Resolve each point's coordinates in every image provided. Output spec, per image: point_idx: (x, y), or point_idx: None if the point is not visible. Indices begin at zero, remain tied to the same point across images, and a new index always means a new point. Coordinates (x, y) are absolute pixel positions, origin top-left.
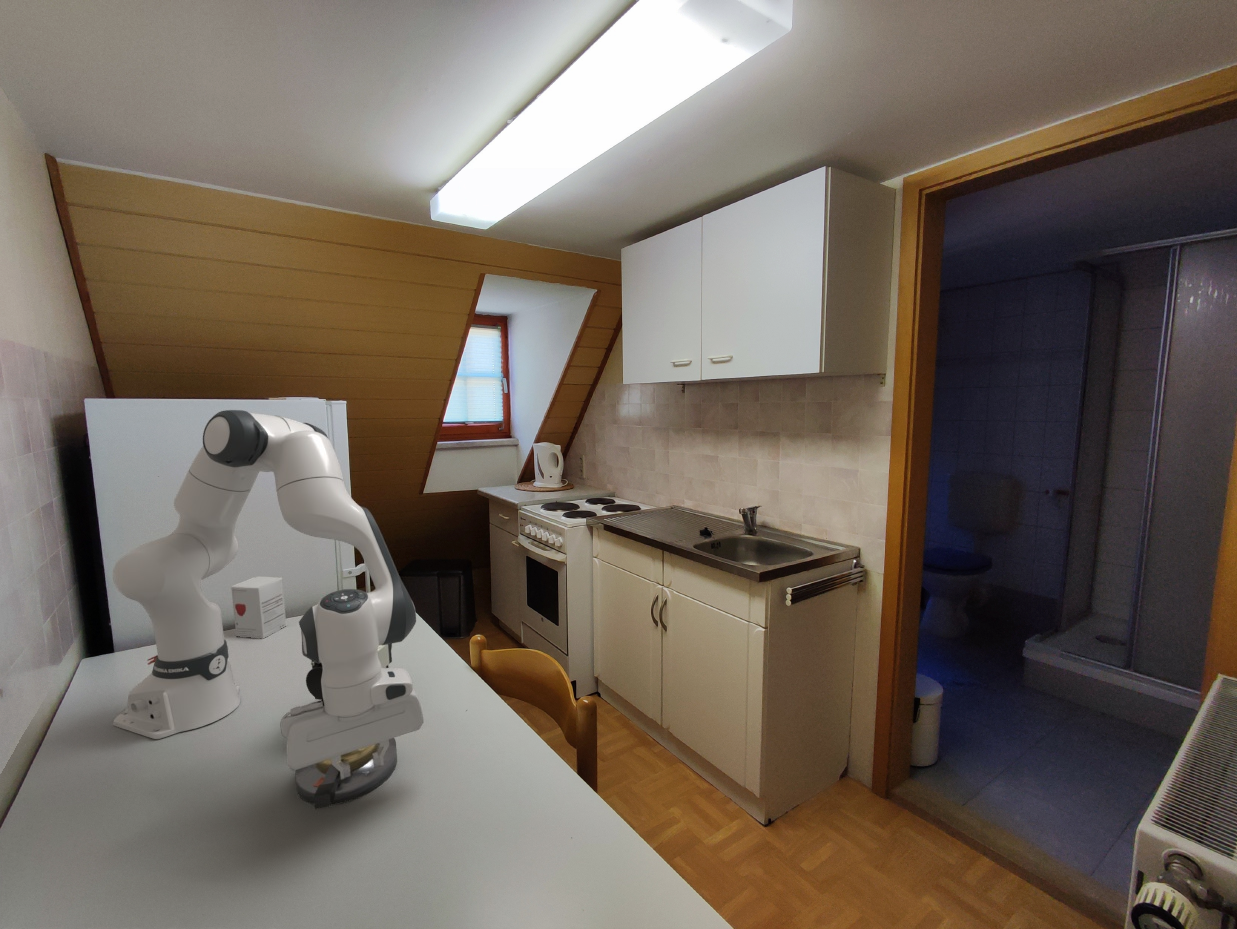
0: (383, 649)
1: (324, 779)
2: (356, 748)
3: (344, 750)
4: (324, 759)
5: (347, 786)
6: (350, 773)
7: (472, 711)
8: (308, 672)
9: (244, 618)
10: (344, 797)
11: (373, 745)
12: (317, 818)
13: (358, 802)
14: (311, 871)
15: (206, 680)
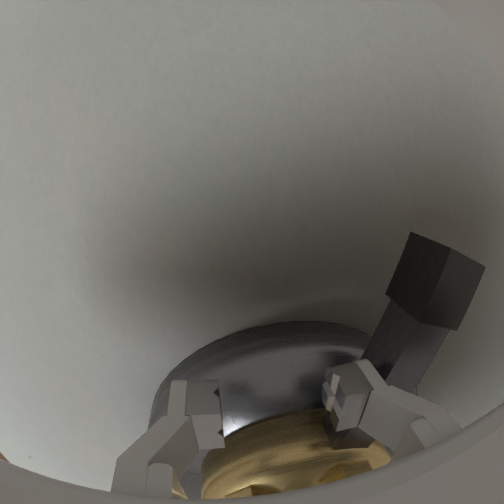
0: None
1: (427, 362)
2: (356, 486)
3: (437, 467)
4: (500, 410)
5: (320, 351)
6: (332, 375)
7: (18, 448)
8: None
9: None
10: (319, 329)
11: (215, 478)
12: (388, 284)
13: (276, 300)
14: (413, 79)
15: None
